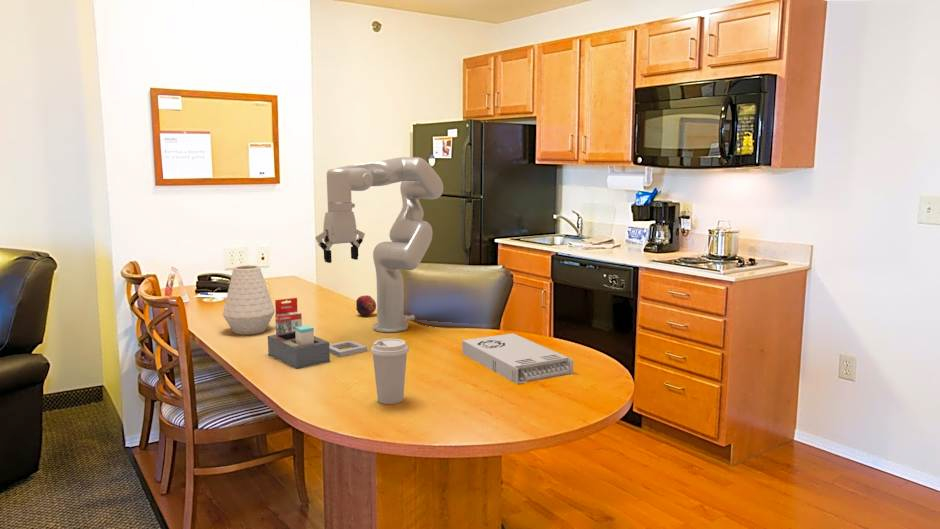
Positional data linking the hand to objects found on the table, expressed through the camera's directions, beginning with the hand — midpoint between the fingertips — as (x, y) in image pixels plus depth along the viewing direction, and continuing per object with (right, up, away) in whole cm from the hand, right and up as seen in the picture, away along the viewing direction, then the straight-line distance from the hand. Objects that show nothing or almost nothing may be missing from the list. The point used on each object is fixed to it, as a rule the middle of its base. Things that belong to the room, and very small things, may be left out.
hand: (341, 260), depth 214 cm
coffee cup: (+21, -36, -45) cm, 62 cm away
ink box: (-19, -28, +8) cm, 34 cm away
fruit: (+1, -22, +46) cm, 51 cm away
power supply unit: (+55, -32, -14) cm, 65 cm away
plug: (-8, -29, -13) cm, 33 cm away
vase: (-37, -25, +22) cm, 50 cm away
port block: (-11, -30, -10) cm, 34 cm away
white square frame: (+2, -29, -2) cm, 29 cm away
